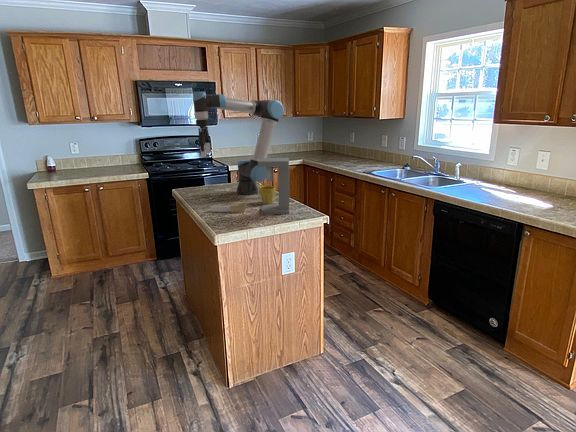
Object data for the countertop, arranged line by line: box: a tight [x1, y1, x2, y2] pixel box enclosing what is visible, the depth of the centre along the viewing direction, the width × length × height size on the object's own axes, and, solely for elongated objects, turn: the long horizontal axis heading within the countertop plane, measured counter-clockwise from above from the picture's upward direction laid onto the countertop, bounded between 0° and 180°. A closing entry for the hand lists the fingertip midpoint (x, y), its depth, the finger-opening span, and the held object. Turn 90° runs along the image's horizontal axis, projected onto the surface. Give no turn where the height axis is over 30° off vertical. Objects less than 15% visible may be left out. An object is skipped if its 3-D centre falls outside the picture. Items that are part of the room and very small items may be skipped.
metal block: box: [209, 202, 246, 214], centre depth 220 cm, size 6×20×4 cm, turn 89°
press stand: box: [258, 157, 290, 215], centre depth 216 cm, size 12×17×30 cm
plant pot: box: [258, 185, 276, 205], centre depth 237 cm, size 10×10×10 cm
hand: (206, 155), depth 228 cm, fingers open, 13 cm apart
